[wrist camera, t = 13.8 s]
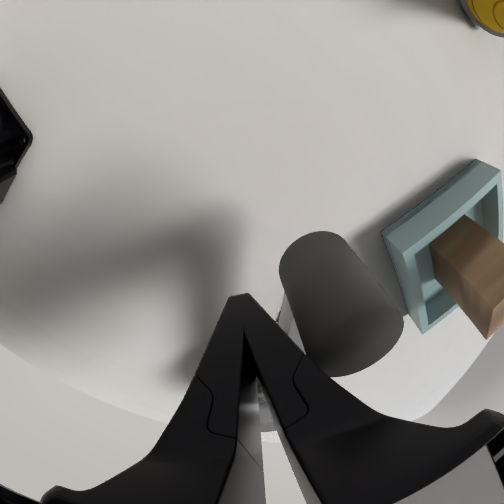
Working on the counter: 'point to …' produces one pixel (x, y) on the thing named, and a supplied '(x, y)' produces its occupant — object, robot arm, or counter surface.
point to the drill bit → (486, 14)
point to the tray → (430, 227)
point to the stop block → (472, 272)
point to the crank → (333, 309)
